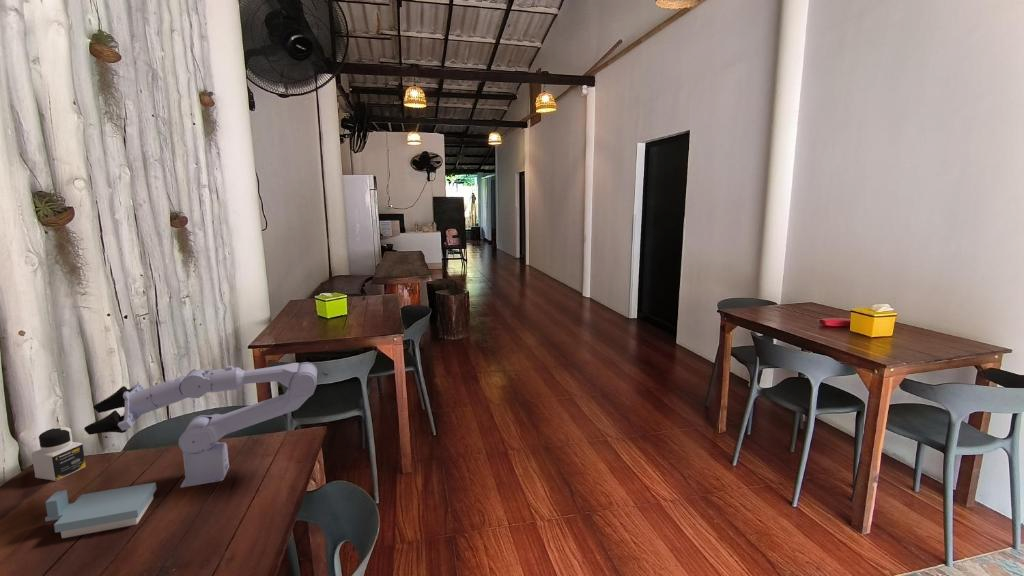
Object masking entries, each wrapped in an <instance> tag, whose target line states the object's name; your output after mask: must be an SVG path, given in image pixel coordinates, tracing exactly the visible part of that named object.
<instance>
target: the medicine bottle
mask: <svg viewBox="0 0 1024 576" xmlns="http://www.w3.org/2000/svg"><path fill="white" fill-rule="evenodd" d="M38 440H39V441H38V442H39V446H40V449H38V450H35V451H33V452H31V457H32V458H31V459H32V464H33V469H34V477H35V478H36V479H43V480H48V481H49V480H50V481H54V482H55V481H56V482H57V481H59V480H61V479H64V478H65V477H67V476H69V475H71V474H73V473H76V472H78V471H80V470H82V469H85V468H86V458H85V452H84V446H83V443H82V442H76V441H73V435H72V429H71V428H70V427H67V426H60V427H54V428H51V429H48V430H45V431H43V432H42V433H40V435H39V436H38Z"/></svg>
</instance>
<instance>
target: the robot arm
mask: <svg viewBox="0 0 1024 576" xmlns="http://www.w3.org/2000/svg"><path fill="white" fill-rule="evenodd" d="M318 375H319V371H318V368H317V366H316V365H315V364H314V363H312V362H309V361H305V362H301V363H299V362H292V363H287V364H286V363H285V364H282V365H276V366H275V365H274V366H269V367H268V366H267V367H263V368H256V369H249V370H248V369H247V370H243V369H242V368H241V367H237V366H236V367H234V366H233V365H227V366H226V368H221V369H220V368H218V369H211V368H206V369H205V370H204V369H195V368H194V369H192V370H190V371H188V373H187V374H186V375H184V376H180V377H177V378H175V379H170V380H168V381H165V382H161V383H159V384H155V385H152V386H149V387H146V388H144V387H143V386H142V384H140V383H137V384H134V385H131V386H130V389H129V388H128V387H127V386H125V385H123V386H121V387H120V388H119V389H118V390H117V391H115V392H114V393H113V394H112V395H110V396H108V397H107V398H104V399H103V400H101V401H100V402H98V403H96V404H95V405H93V409H94V410H95V411H96V412H97V413H98V414H101V413H106V412H109V411H112V412H111V413H109V414H108V415H106V416H104V417H103V418H100V419H98V420H97V421H95V422H92V423H90V424H88V425H86V426H85V427H84V429H83V430H84V431H85V432H86V433H87V434H88V435H90V436H91V435H97V434H104V433H120V434H124V433H126V432H127V431H128V430H129V429H131V428H132V427H133V425H134V424H135V422H137V420H138V419H140V417H141V416H142V415H144V414H145V415H146V414H148V413H151V412H153V411H156V410H158V409H161V408H164V407H167V406H169V405H172V404H175V403H178V402H181V401H183V400H185V399H188V398H190V399H199V398H202V397H203V396H205V394H207V393H211V394H212V393H219V392H225V391H226V392H229V391H234V390H240V389H241V388H242V387H243V386H244V385H246V384H257V383H270V382H278V383H280V384H281V385H282V386H284V387H285V388H287V389H286V392H285V393H283V394H280V395H277V396H275V397H271V398H269V399H266V400H263V401H260V402H256V403H254V404H250V405H247V406H243V407H241V408H238V409H235V410H232V411H229V412H227V413H226V412H225V413H223V414H220V413H214V414H211V415H210V414H209V415H205V414H204V415H198V416H195V417H193V418H192V419H191V420H189V423H188V425H187V427H186V429H185V430H184V432H183V433H182V434H181V435H180V437H179V439H178V446H179V448H180V450H182V457H183V466H184V475H185V478H184V479H183V481H182V483H181V484H180V488H187V487H193V486H197V485H198V486H199V485H203V484H209V483H217V482H222V481H224V480H225V477H226V476H227V473H228V470H229V469H230V463H229V452H228V444H227V443H226V442H218V441H219V440H220V439H222V438H223V437H224V436H226V435H228V434H231V433H234V432H237V431H239V430H242V429H245V428H248V427H251V426H254V425H257V424H260V423H262V422H265V421H268V420H271V419H274V418H277V417H280V416H283V415H286V414H289V413H291V412H295V411H297V410H299V408H300V407H302V405H303V404H304V403H305V402H306V401H307V400H308V399H309V398H310V397H312V396H313V395H314V393H315V390H316V388H317V385H318V379H317V378H318ZM120 408H121V409H122V408H124V411H123V415H121V414H120V413H119V412H118V411H117V410H116V409H120Z"/></svg>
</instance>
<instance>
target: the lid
mask: <svg viewBox="0 0 1024 576" xmlns="http://www.w3.org/2000/svg"><path fill="white" fill-rule="evenodd" d="M67 491H68V490H67V489H65V490H58V491H55V492H54V493H53V494H52V495H51V496H50V497H48V499H47V500H46V501H45V506H46V507H45V509H46V513H47V516H45V517H44V519H45V520H44V521H45V522H50V521H56V520H57V521H56V522H55V523H54V524H53V529H54V533H61V532H62V531H67V530H73V529H78V528H83V527H89V526H94V525H100V524H105V523H111V522H116V521H122V520H127V519H132V518H138V517H139V515H140V514H141V512H142V511H143V509H144V508H145V506H146V505H147V503H148V502H149V500H150V498H151V497H152V495H153V496H154V494H155V492H156V491H157V483H156V482H150V483H143V484H138V485H133V486H126V487H125V486H124V487H120V488H119V487H118V488H111V489H106V490H101V491H94V492H89V493H88V492H87V493H82V494H81V495H80V496H79V497H77V499H76V500H75V501H74V502H73V503H72V502H71V503H69V497H68V492H67Z"/></svg>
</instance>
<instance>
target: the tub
mask: <svg viewBox="0 0 1024 576" xmlns="http://www.w3.org/2000/svg"><path fill="white" fill-rule="evenodd" d="M153 500H154V494H153V495H152V497H151V498H150V500H149V502H148V503H147V505H146V506H145V508H144V509H143V511H142V512H141V514H140V515H139V517H138V518H132V519H127V520H122V521H116V522H111V523H105V524H100V525H94V526H89V527H83V528H78V529H73V530H67V531H62V532H60V535H61V539H67V538H72V537H78V536H82V535H87V534H92V533H99V532H103V531H108V530H115V529H120V528H125V527H130V526H135V525H138V523H139V522H140V521H141V518H142V517H143V516H144V514H145V513H146V511H147V509H148V508H149V507H150V505H151V503H152V501H153Z"/></svg>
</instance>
